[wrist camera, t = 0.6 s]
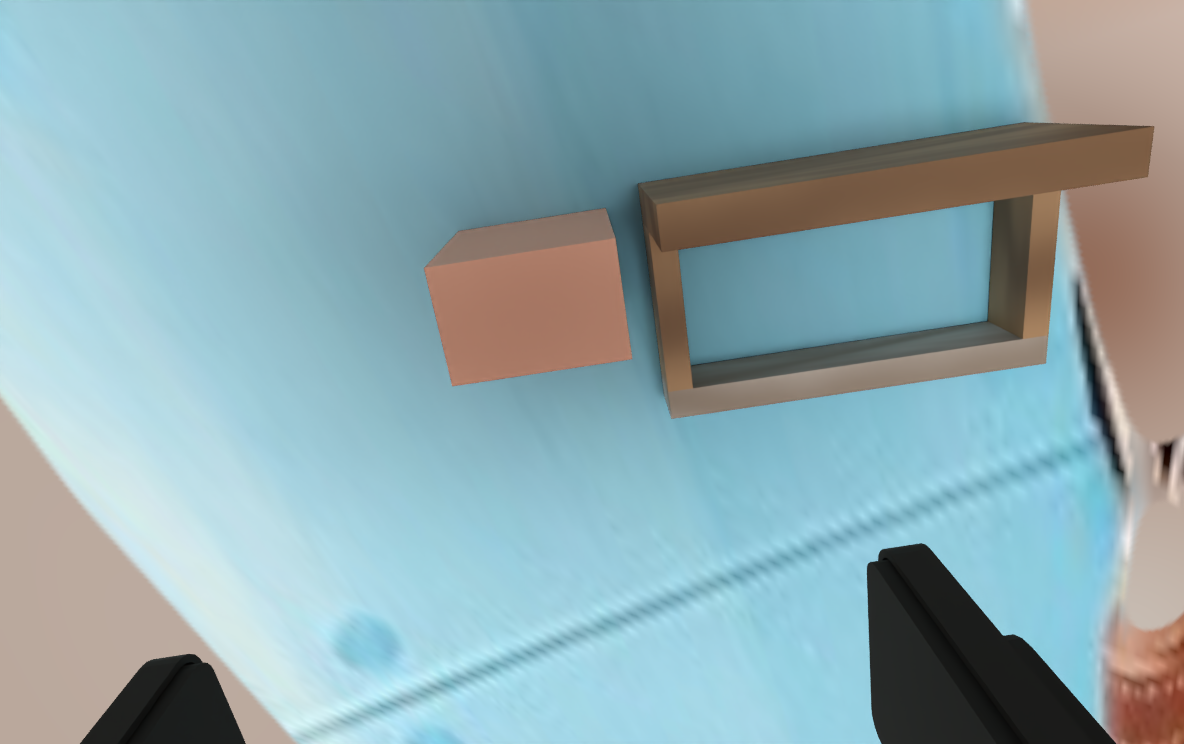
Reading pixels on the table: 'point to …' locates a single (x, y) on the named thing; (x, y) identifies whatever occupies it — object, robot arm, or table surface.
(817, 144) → the table surface
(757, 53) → the table surface
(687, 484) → the table surface
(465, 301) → the salmon pink block
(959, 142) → the board
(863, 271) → the table surface
